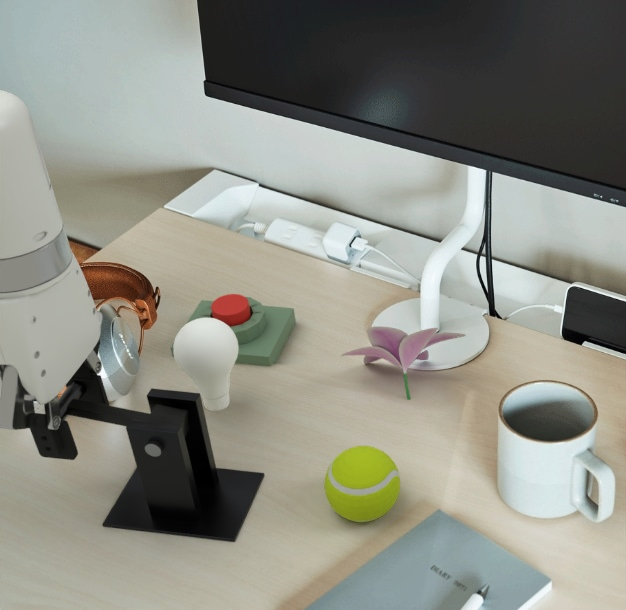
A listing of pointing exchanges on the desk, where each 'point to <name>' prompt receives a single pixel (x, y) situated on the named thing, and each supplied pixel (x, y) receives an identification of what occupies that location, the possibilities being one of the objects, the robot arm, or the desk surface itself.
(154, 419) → the switch lever
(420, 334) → the lily
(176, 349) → the lightbulb
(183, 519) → the switch bracket
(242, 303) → the button
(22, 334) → the robot arm
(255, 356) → the button box
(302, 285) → the desk surface
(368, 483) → the tennis ball
